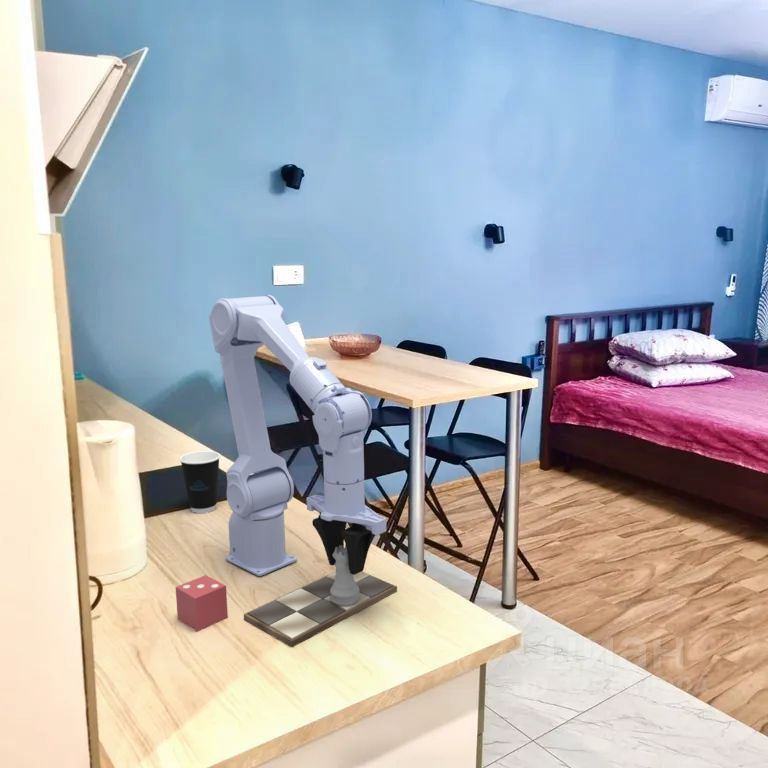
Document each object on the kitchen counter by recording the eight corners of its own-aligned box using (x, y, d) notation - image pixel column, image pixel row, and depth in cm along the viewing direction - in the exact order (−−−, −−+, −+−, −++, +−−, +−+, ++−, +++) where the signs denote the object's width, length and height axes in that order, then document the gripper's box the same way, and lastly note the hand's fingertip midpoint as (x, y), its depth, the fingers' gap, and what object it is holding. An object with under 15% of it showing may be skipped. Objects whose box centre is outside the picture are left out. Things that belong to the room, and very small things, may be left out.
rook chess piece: (341, 589, 108) (339, 539, 106) (366, 597, 105) (365, 546, 104) (323, 602, 104) (321, 550, 102) (348, 610, 102) (347, 557, 100)
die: (177, 619, 102) (175, 586, 101) (207, 606, 106) (205, 574, 105) (197, 632, 99) (195, 598, 98) (227, 618, 102) (225, 585, 101)
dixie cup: (213, 499, 150) (209, 448, 147) (230, 509, 144) (227, 456, 141) (176, 508, 145) (172, 455, 143) (193, 519, 139) (189, 465, 137)
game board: (243, 619, 102) (243, 612, 101) (348, 570, 116) (348, 564, 116) (291, 647, 94) (291, 640, 94) (397, 591, 109) (396, 585, 109)
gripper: (289, 474, 104) (292, 561, 106) (360, 497, 94) (362, 593, 97) (325, 463, 109) (328, 546, 111) (396, 483, 99) (397, 575, 102)
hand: (346, 567), depth 104 cm, fingers open, 4 cm apart
